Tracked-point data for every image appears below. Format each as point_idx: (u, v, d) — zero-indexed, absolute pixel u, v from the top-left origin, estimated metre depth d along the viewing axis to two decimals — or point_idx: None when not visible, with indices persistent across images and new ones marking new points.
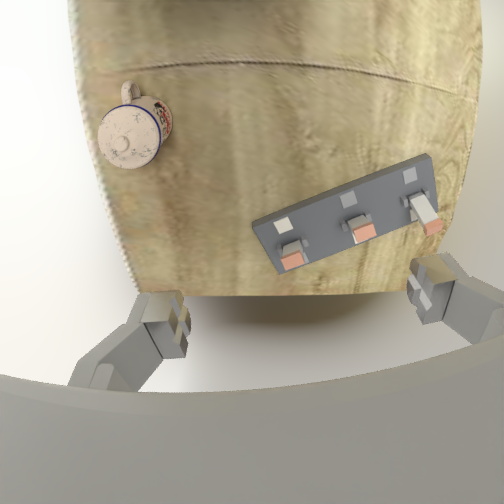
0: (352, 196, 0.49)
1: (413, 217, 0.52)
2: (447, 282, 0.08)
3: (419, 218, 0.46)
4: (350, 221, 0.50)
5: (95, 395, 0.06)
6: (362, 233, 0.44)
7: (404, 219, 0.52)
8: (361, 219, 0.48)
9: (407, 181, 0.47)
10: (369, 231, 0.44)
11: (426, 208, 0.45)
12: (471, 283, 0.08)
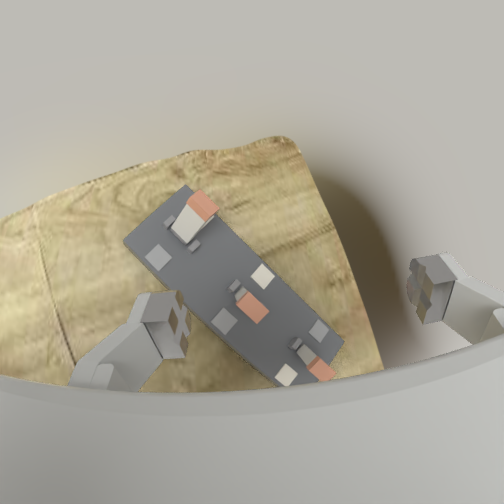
0: (219, 319, 0.40)
1: None
2: (447, 282, 0.08)
3: (202, 226, 0.37)
4: None
5: (95, 395, 0.06)
6: (254, 311, 0.34)
7: (216, 228, 0.43)
8: None
9: (167, 256, 0.39)
10: (248, 304, 0.34)
11: (185, 221, 0.37)
12: (471, 283, 0.08)
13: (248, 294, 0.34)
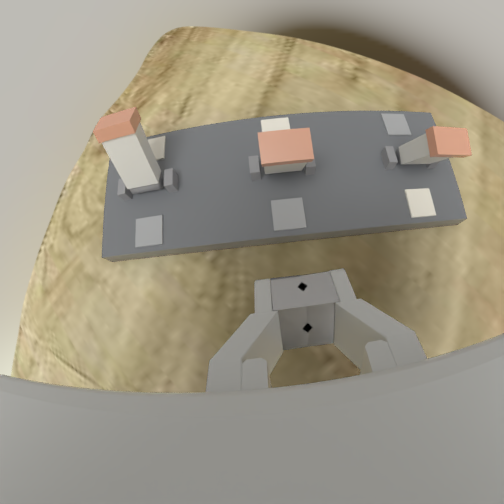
0: (280, 217, 0.25)
1: (160, 143, 0.28)
2: (326, 304, 0.08)
3: (144, 145, 0.22)
4: (297, 169, 0.24)
5: (95, 395, 0.06)
6: (293, 146, 0.18)
7: (178, 142, 0.28)
8: (275, 169, 0.22)
9: (156, 219, 0.26)
10: (274, 146, 0.18)
11: (126, 163, 0.23)
12: (354, 306, 0.08)
13: (260, 136, 0.18)
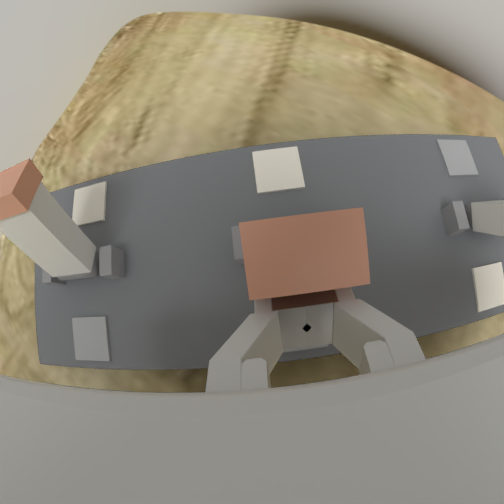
0: None
1: (98, 193, 0.18)
2: (325, 304, 0.08)
3: (55, 220, 0.12)
4: None
5: (95, 395, 0.06)
6: (324, 257, 0.08)
7: (124, 191, 0.18)
8: None
9: (97, 323, 0.16)
10: (279, 258, 0.08)
11: (36, 248, 0.13)
12: (353, 306, 0.08)
13: (246, 231, 0.08)
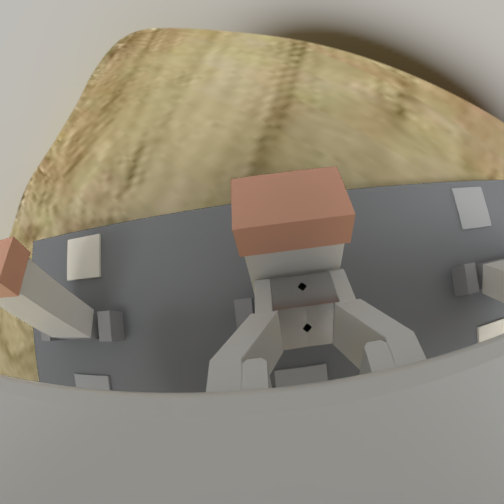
0: None
1: (92, 247, 0.17)
2: (326, 304, 0.08)
3: (48, 296, 0.11)
4: None
5: (95, 395, 0.06)
6: (305, 196, 0.08)
7: (120, 246, 0.17)
8: None
9: (100, 382, 0.15)
10: (263, 198, 0.08)
11: (32, 318, 0.12)
12: (354, 306, 0.08)
13: (236, 184, 0.09)
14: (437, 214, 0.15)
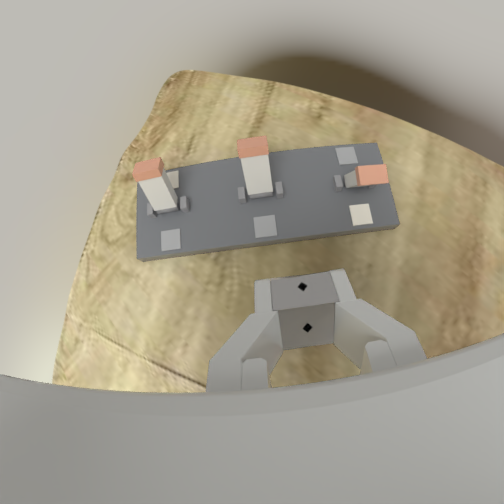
0: (259, 229, 0.37)
1: (174, 175, 0.40)
2: (326, 304, 0.08)
3: (167, 182, 0.35)
4: (268, 186, 0.36)
5: (95, 395, 0.06)
6: (256, 142, 0.31)
7: (188, 175, 0.40)
8: (252, 180, 0.35)
9: (175, 231, 0.38)
10: (245, 143, 0.32)
11: (154, 194, 0.35)
12: (354, 306, 0.08)
13: (238, 140, 0.32)
14: (326, 159, 0.38)
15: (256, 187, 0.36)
